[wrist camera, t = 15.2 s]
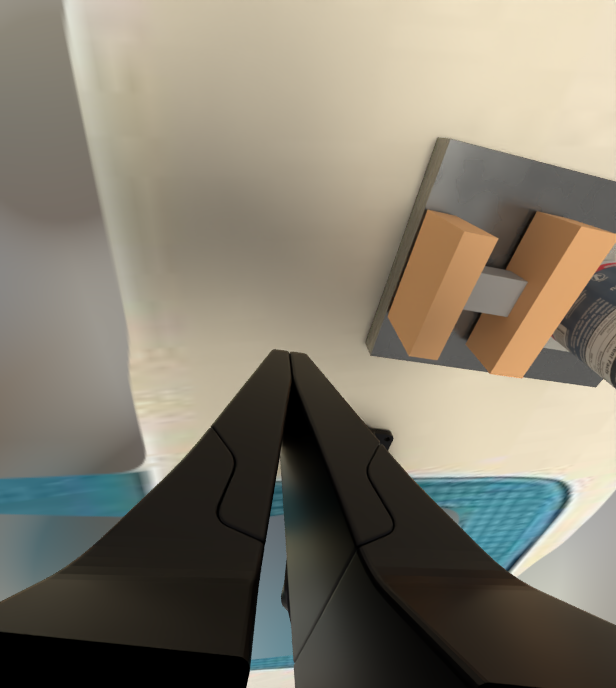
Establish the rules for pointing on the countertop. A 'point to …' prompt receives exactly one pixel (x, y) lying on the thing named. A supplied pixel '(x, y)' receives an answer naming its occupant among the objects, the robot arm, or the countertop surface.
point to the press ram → (494, 287)
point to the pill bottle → (593, 324)
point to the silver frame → (504, 223)
